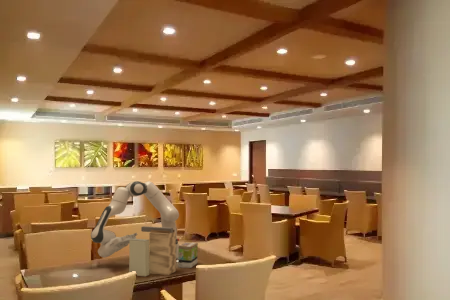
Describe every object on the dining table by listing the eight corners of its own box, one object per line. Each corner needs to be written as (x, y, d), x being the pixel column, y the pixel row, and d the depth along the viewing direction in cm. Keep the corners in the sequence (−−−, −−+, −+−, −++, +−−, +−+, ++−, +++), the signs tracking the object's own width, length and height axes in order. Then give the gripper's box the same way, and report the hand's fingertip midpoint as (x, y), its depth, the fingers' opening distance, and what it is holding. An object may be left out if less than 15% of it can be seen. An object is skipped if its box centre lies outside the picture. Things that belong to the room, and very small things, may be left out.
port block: (133, 273, 264) (133, 238, 265) (149, 274, 260) (149, 239, 261) (129, 274, 260) (129, 239, 261) (145, 276, 256) (145, 240, 257)
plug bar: (143, 230, 274) (143, 226, 274) (173, 232, 266) (173, 227, 266) (141, 231, 271) (141, 226, 272) (170, 233, 263) (170, 228, 263)
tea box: (192, 268, 276) (191, 246, 277) (177, 267, 278) (177, 245, 279) (197, 263, 291) (197, 242, 292) (184, 262, 293) (184, 241, 294)
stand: (157, 269, 273) (157, 228, 274) (175, 271, 268) (175, 229, 269) (149, 273, 264) (149, 230, 265) (168, 275, 259) (168, 231, 260)
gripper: (106, 241, 271) (121, 232, 267) (124, 237, 290) (139, 228, 286) (109, 250, 269) (125, 241, 265) (128, 245, 288) (142, 236, 284)
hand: (132, 234), depth 275 cm, fingers open, 8 cm apart
